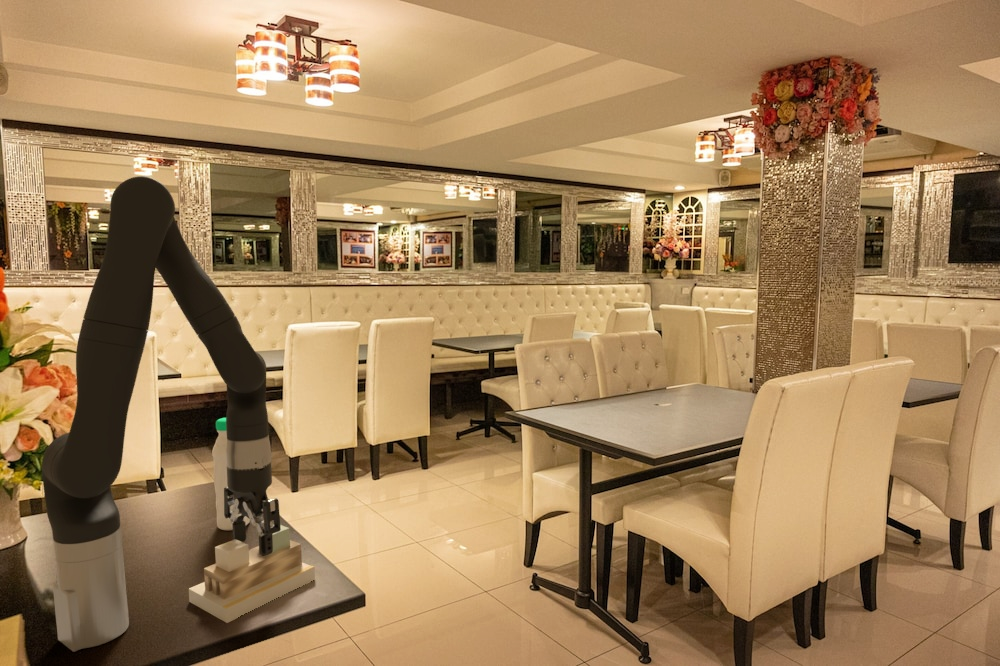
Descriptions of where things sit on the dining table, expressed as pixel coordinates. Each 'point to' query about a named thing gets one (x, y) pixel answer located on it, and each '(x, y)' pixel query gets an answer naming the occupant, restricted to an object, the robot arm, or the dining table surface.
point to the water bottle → (221, 475)
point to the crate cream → (232, 555)
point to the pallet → (252, 571)
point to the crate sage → (280, 539)
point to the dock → (251, 594)
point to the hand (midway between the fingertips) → (252, 548)
